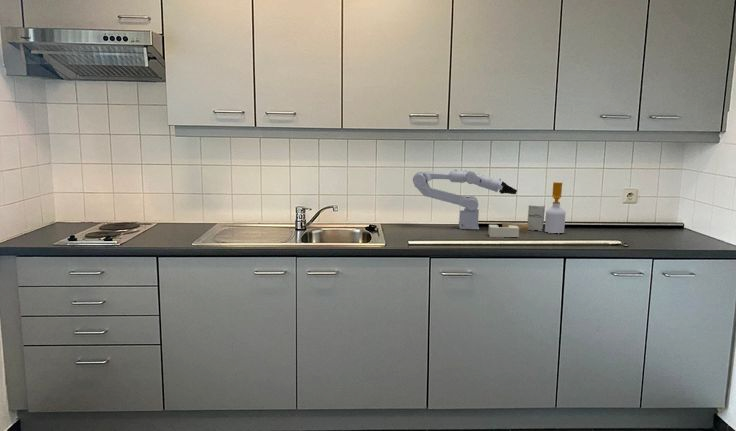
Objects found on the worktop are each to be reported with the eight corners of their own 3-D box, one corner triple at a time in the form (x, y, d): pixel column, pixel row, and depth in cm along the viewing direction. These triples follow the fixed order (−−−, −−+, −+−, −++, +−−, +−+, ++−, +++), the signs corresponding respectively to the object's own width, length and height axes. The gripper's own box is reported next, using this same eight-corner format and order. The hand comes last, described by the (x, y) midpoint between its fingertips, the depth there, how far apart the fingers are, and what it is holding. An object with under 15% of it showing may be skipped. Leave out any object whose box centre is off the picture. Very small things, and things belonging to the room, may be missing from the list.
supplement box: (526, 230, 273) (528, 205, 271) (528, 227, 279) (529, 203, 277) (542, 231, 270) (543, 206, 268) (543, 229, 277) (545, 204, 275)
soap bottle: (544, 233, 265) (548, 182, 261) (544, 230, 273) (548, 180, 270) (564, 234, 262) (568, 183, 258) (563, 231, 271) (567, 181, 267)
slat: (527, 233, 266) (528, 225, 266) (502, 232, 268) (502, 224, 267) (526, 231, 270) (527, 223, 269) (501, 230, 271) (502, 222, 270)
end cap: (489, 236, 254) (490, 227, 253) (488, 233, 261) (488, 224, 261) (518, 238, 253) (519, 228, 252) (516, 235, 260) (516, 225, 259)
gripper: (492, 176, 263) (520, 184, 261) (490, 174, 277) (516, 183, 275) (487, 190, 264) (514, 198, 262) (485, 188, 278) (511, 196, 277)
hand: (515, 191), depth 269 cm, fingers open, 7 cm apart
